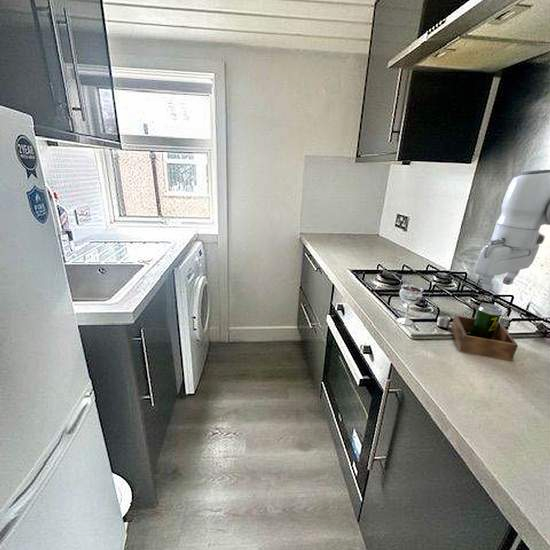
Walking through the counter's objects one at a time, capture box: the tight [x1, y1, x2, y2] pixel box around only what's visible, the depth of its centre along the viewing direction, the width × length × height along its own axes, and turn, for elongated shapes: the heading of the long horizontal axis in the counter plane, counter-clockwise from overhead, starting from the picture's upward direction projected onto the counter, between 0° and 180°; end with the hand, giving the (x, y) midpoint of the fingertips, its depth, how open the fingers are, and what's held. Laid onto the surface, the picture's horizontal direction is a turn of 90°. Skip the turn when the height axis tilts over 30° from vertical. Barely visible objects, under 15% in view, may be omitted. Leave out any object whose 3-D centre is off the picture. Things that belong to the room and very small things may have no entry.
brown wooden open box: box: [450, 314, 518, 362], centre depth 88 cm, size 13×13×5 cm
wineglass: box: [396, 283, 424, 326], centre depth 97 cm, size 7×7×12 cm
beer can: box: [469, 302, 502, 340], centre depth 86 cm, size 5×5×12 cm
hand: (496, 286), depth 82 cm, fingers open, 8 cm apart
